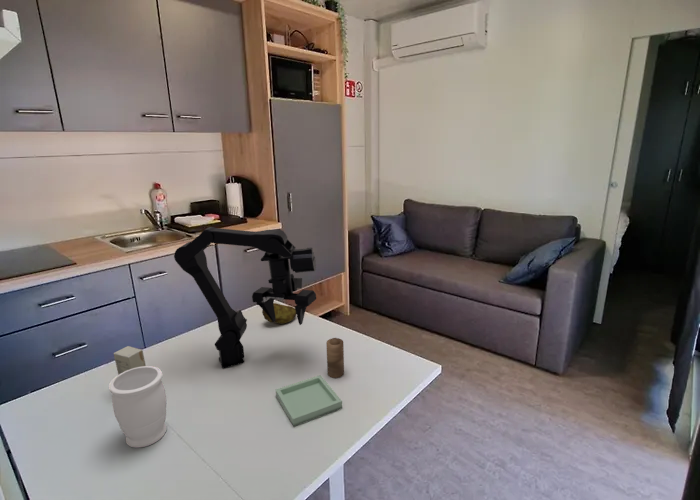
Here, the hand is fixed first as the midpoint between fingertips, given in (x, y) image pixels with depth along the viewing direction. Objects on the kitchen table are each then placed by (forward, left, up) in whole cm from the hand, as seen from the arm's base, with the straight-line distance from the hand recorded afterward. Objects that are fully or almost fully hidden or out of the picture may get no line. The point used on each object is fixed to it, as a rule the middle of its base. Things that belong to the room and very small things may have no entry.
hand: (287, 322), depth 115 cm
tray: (-3, -21, -13) cm, 25 cm away
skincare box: (-42, +7, -13) cm, 44 cm away
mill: (+9, -13, -13) cm, 21 cm away
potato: (+6, +27, -13) cm, 31 cm away
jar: (-40, -13, -13) cm, 44 cm away
